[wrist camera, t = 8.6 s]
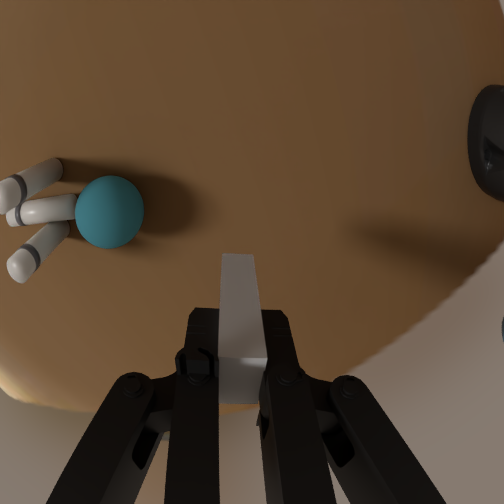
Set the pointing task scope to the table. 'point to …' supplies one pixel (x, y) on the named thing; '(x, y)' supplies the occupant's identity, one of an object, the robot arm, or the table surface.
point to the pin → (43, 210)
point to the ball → (109, 212)
